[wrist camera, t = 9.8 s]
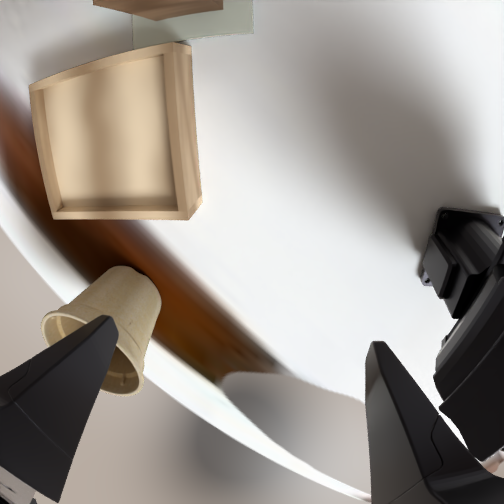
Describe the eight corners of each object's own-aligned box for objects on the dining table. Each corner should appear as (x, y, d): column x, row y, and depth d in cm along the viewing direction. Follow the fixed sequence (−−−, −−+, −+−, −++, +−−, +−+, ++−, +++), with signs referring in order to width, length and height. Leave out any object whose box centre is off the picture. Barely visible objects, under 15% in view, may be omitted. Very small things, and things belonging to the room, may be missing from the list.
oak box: (191, 46, 16) (172, 42, 14) (202, 202, 22) (188, 220, 19) (54, 80, 18) (28, 85, 16) (74, 204, 24) (53, 219, 21)
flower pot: (200, 306, 27) (166, 384, 20) (143, 340, 31) (109, 404, 24) (123, 229, 24) (62, 292, 17) (78, 279, 28) (30, 336, 21)
